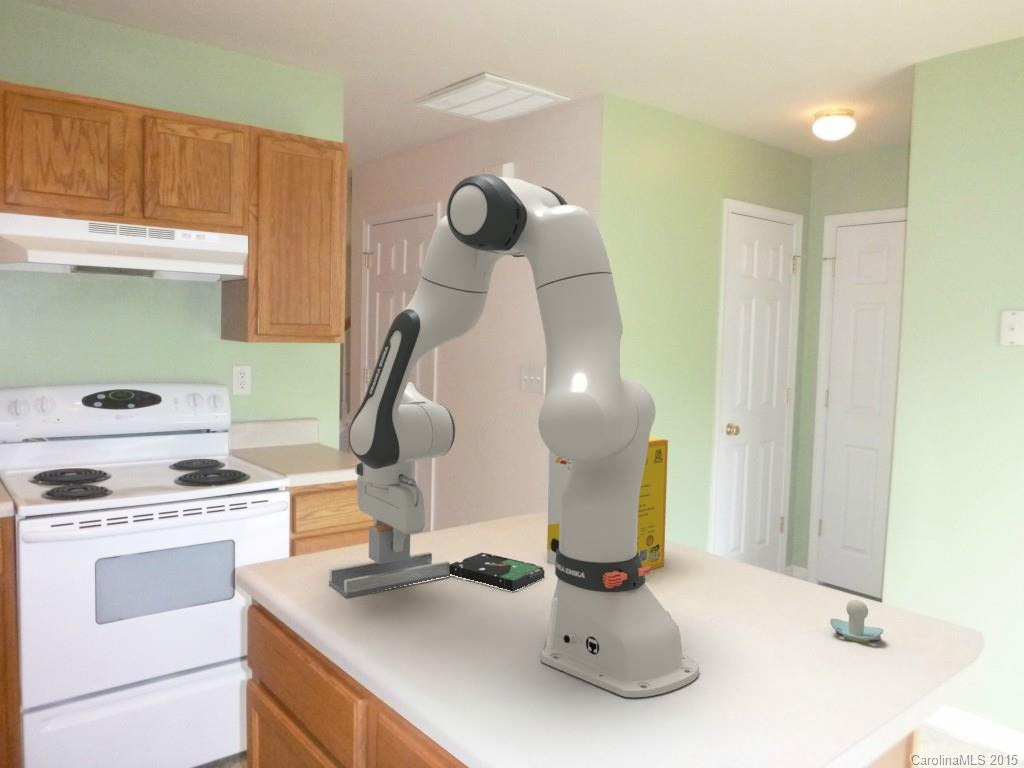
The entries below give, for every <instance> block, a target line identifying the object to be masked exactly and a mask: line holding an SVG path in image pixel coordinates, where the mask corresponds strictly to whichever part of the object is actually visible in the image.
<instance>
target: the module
mask: <svg viewBox="0 0 1024 768" xmlns="http://www.w3.org/2000/svg"><path fill="white" fill-rule="evenodd" d="M393 538H394V533H393V527H391V526H389V525H387V524H383V525H376V526H374V525H371V526H369V527H368V558H369V559H370V560H371V561H372V562H377V563H378V564H383V563H389V562H395V561H400V560H406V559H410V555H411V534H407V535H406V537H405V540H404V541H403V550H402V551H400V552H395V551H393V550H391V541H392V540H393Z"/></svg>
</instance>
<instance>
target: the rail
mask: <svg viewBox="0 0 1024 768" xmlns="http://www.w3.org/2000/svg"><path fill="white" fill-rule="evenodd" d="M432 557H433V554H432V552H431V551H427V552H422V553H416V554H410V559H406V560H400V561H395V562H389V563H383V564H378V563H377V562H375V561H372V562H365V563H358V564H353V565H347V566H342V567H335V568H331V569H329V570H328V571H329V578H328V579H329V580H328V585H329V586H330V587H331V588H332V589H334V590H336V591H337V592H338V593H339V594H341V595H342V596H343V597H345V598H346V599H349V598H350V599H351V598H354V597H355V598H356V597H359V595H360V596H365V595H369V594H368V593H370V594H373V593H372V592H375V593H378V592H377V591H380V592H382V591H381V590H385V589H389V588H394V587H400V586H404V585H409V584H413V583H418V582H422V581H427V580H431V579H436V578H441V577H447V576H450V573H449V569H450V564H451V562H450V561H447V560H445V561H441V562H434V563H432V562H433V559H432ZM450 577H451V576H450ZM385 591H386V590H385ZM364 594H365V595H364Z"/></svg>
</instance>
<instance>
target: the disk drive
mask: <svg viewBox="0 0 1024 768" xmlns="http://www.w3.org/2000/svg"><path fill="white" fill-rule="evenodd" d="M545 572H546V571H545V569H544V567H543V566H540V565H537V564H534V563H530V562H525V561H522V560H517V559H513V558H508V557H504V556H499V555H497V554H491V553H487V552H480V553H477V554H474V555H472V556H468V557H466V558H464V559H463V560H462V561H461V562H460V561H455V562H452V563H450V569H449V573H450V574H452V575H455V576H458V577H462V578H466V579H470V580H474V581H478V582H482V583H486V584H489V585H493V586H497V587H499V588H503V589H507V590H510V591H515V590H517V589H520V588H522V587H524V586H526V587H528V586H529V585H528V584H530V585H532V584H531V583H533V582H535V583H537V582H538V581H537V580H539V581H541V580H543V579H545ZM542 578H543V579H542ZM540 579H541V580H540ZM536 581H537V582H536ZM533 584H534V583H533ZM527 585H528V586H527ZM524 588H525V587H524ZM522 589H523V588H522ZM520 590H521V589H520ZM510 591H509V592H510Z"/></svg>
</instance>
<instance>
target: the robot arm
mask: <svg viewBox="0 0 1024 768" xmlns="http://www.w3.org/2000/svg"><path fill="white" fill-rule="evenodd" d="M506 255H507V256H512V257H514V258H526V259H527V261H528V262H529V265H530V268H531V271H532V272H531V273H532V277H533V281H534V289H535V293H536V298H537V299H536V300H537V303H538V308H539V309H538V310H539V312H540V313H539V314H540V318H541V320H540V321H541V324H542V329H543V335H544V341H545V353H546V354H545V355H546V357H545V358H546V359H545V360H546V362H545V363H546V365H545V368H546V372H545V393H544V394H545V395H544V399H543V400H544V401H543V403H542V405H541V407H540V411H539V414H538V423H537V424H538V430H539V434H540V438H541V440H542V441H543V443H544V445H545V446H546V448H547V449H548V450H550V451H552V452H553V453H554V454H555V455H557V456H559V457H561V458H564V459H567V460H572V464H571V468H570V472H569V476H568V479H567V482H566V484H565V486H564V488H563V491H562V493H561V498H560V529H559V548H558V549H557V550H556V558H555V565H554V566H555V570H554V574H555V576H556V577H557V582H556V585H555V590H554V594H553V596H552V599H551V602H550V603H551V605H550V612H549V620H548V630H547V636H546V640H545V647H544V648H543V649H542V651H541V654H540V655H541V656H540V657H541V658H540V661H541V662H542V663H543V664H545V665H547V666H549V667H550V666H551V668H552V667H553V668H555V669H556V670H560V671H562V672H565V673H567V674H569V675H572V676H574V677H577V678H579V679H582V680H583V681H585V682H588V683H591V684H593V685H595V686H598V687H600V688H602V689H605V690H606V691H609V692H612V693H614V694H616V695H619V696H621V697H625V698H644V697H645V698H646V697H652V696H657V695H661V694H665V693H668V692H671V691H675V690H677V689H680V688H682V687H685V686H686V685H688V684H690V683H691V682H693V681H694V680H696V678H697V677H698V676H699V674H700V665H699V664H698V663H697V662H695V661H694V660H693V659H691V658H690V657H688V656H686V655H685V654H684V653H682V652H683V651H682V639H681V637H682V636H681V632H680V629H679V626H678V624H677V622H675V620H674V619H673V618H672V615H671V614H670V612H669V611H668V610H666V609H665V608H664V607H663V605H662V604H661V603H660V601H659V600H658V599H657V597H656V596H655V595H654V593H653V592H652V591H651V590H650V588H649V587H648V586H647V584H646V580H647V579H646V576H647V575H651V574H652V573H651V572H650V571H647V570H649V569H650V568H651V566H647V567H642V563H641V559H640V556H639V553H638V552H637V527H638V504H639V494H640V487H641V482H642V477H643V472H644V467H645V462H646V456H647V450H648V443H649V437H651V436H650V435H651V431H652V428H653V425H654V423H655V420H656V414H657V413H656V411H657V410H656V405H655V401H654V397H653V396H652V394H651V393H650V391H648V389H647V388H646V387H645V386H643V385H641V384H640V383H638V382H637V381H635V380H634V379H631V378H628V377H626V376H621V363H620V362H621V353H620V352H621V339H622V337H623V336H622V335H623V330H624V326H623V321H622V316H621V311H620V306H619V302H618V301H619V300H618V297H617V291H616V286H615V282H614V277H613V273H612V269H611V264H610V260H609V256H608V253H607V249H606V246H605V244H604V240H603V238H602V235H601V233H600V230H599V227H598V225H597V223H596V220H595V218H594V216H593V215H592V213H591V212H589V211H588V209H586V208H584V207H582V206H579V205H576V204H568V202H567V201H566V200H565V198H563V197H562V196H561V194H559V193H557V192H556V191H554V190H552V189H551V188H548V187H545V186H538V185H536V184H534V183H530V182H527V181H526V180H524V179H520V178H514V177H509V176H508V177H507V176H506V177H505V176H497V175H493V174H489V173H488V174H487V173H485V174H475V175H471V176H467V177H466V178H464V179H462V180H461V181H460V182H458V183H457V184H456V185H455V186H454V188H453V190H452V191H451V193H450V195H449V198H448V201H447V206H446V215H444V216H443V217H442V218H441V219H440V220H439V221H438V223H437V224H436V227H435V229H434V232H433V234H432V236H431V239H430V242H429V244H428V248H427V250H426V253H425V257H424V261H423V265H422V269H421V273H420V277H419V282H418V285H417V288H416V289H415V292H414V294H413V296H412V298H411V300H410V301H409V303H407V306H405V308H404V309H403V311H401V312H400V313H398V314H397V316H396V317H394V318H393V321H392V322H391V325H390V327H389V329H388V331H387V333H386V336H385V339H384V342H383V345H382V348H381V350H380V353H379V356H378V359H377V360H376V364H375V366H374V369H373V373H372V376H371V379H370V381H369V384H368V386H367V390H366V393H365V395H364V397H363V400H362V402H361V404H360V406H359V408H358V410H357V411H356V413H355V415H354V416H353V418H352V421H351V424H350V426H349V431H348V442H349V443H348V444H349V447H350V449H351V451H352V453H353V454H354V455H355V457H356V458H357V459H358V460H359V461H358V462H356V463H355V464H354V465H355V469H354V471H355V474H356V476H358V477H357V481H356V495H357V504H358V505H357V506H358V508H359V511H360V512H361V513H364V514H366V516H367V515H368V516H370V517H371V518H372V519H373V520H372V521H373V526H376V525H383V524H387V525H389V526H391V527H393V533H394V538H393V540H392V541H391V550H393V551H395V552H400V551H402V550H403V541H404V540H405V537H406V535H407V534H410V535H412V534H417V533H418V534H419V533H422V532H423V531H424V528H425V525H426V518H425V516H426V515H425V500H424V495H423V494H424V493H423V492H422V490H421V489H420V487H419V486H418V484H417V481H416V462H417V461H418V462H419V461H421V460H422V461H423V460H428V459H436V458H439V457H442V456H444V455H446V454H448V452H449V451H450V450H451V448H452V446H453V444H454V442H455V437H456V425H455V420H454V417H453V415H452V414H451V412H450V411H449V409H448V408H446V407H445V406H444V405H443V404H441V403H436V402H435V401H432V400H431V399H429V398H427V397H425V396H423V395H422V394H421V393H420V392H419V391H418V390H417V389H416V386H415V384H414V383H413V382H412V381H410V379H411V375H412V372H413V370H414V368H415V366H416V365H417V364H418V362H419V361H420V360H421V359H422V358H423V357H424V356H425V355H426V354H428V353H429V352H431V351H433V350H434V349H436V348H438V347H441V346H442V345H444V344H446V343H449V342H452V341H454V340H457V339H459V338H461V337H464V336H465V335H466V334H468V333H469V332H471V331H472V329H474V328H475V327H476V326H477V325H478V323H479V322H480V319H481V317H482V315H483V314H484V313H483V312H484V309H485V305H486V302H487V297H488V295H489V289H490V283H491V280H492V275H493V272H494V268H495V267H496V264H497V262H498V261H499V260H500V259H502V257H505V256H506ZM645 571H647V572H645Z"/></svg>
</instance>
